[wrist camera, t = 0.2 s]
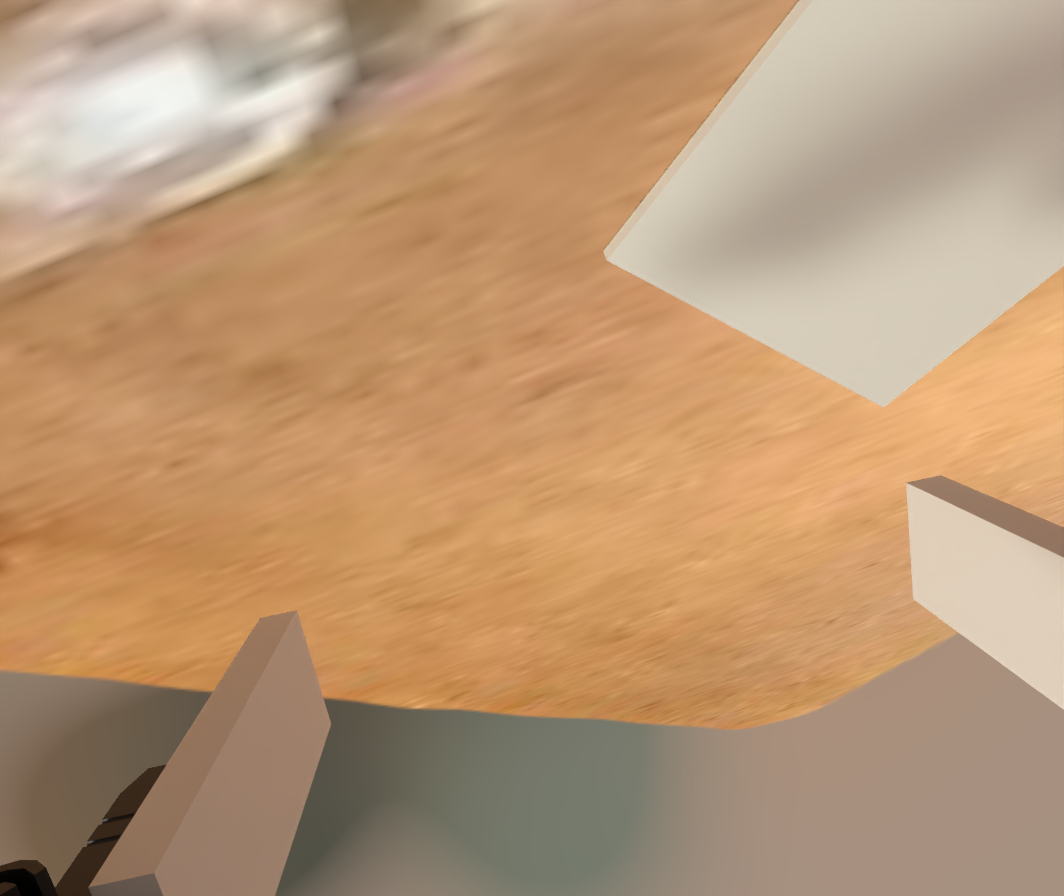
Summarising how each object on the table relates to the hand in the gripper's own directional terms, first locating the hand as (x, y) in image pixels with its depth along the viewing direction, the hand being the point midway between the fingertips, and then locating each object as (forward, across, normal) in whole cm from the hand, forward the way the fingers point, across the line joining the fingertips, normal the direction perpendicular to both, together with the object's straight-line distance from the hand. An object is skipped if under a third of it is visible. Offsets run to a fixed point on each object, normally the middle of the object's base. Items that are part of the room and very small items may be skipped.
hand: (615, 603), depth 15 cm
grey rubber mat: (+13, +15, +7) cm, 22 cm away
